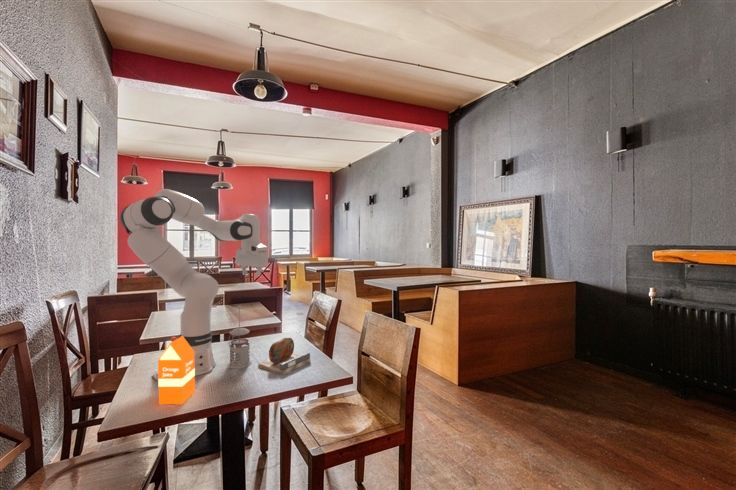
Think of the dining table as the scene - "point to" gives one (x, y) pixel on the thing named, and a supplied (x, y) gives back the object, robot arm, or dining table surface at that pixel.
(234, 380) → the dining table surface
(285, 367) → the price rail
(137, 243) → the robot arm
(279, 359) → the oval plaque
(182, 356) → the orange juice
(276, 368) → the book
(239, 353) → the french press
